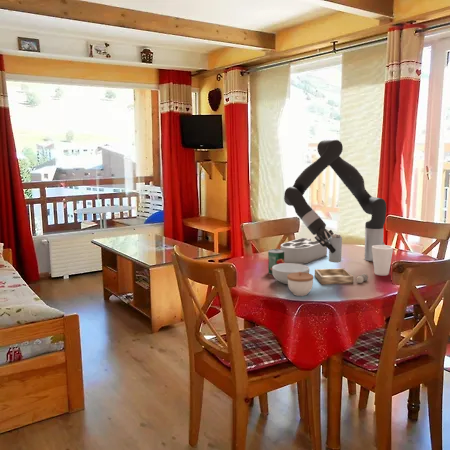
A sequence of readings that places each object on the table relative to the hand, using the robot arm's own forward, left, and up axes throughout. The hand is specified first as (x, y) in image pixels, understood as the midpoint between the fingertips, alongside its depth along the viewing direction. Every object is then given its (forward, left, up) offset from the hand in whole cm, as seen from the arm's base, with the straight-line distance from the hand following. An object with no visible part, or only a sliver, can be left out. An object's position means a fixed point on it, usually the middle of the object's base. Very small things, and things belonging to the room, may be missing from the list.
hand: (337, 250), depth 213 cm
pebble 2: (-12, +3, -14) cm, 18 cm away
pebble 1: (-9, +6, -14) cm, 17 cm away
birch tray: (+1, -1, -14) cm, 14 cm away
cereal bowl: (+21, +1, -14) cm, 25 cm away
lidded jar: (+20, +18, -14) cm, 30 cm away
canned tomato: (+25, -16, -14) cm, 33 cm away
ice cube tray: (+7, -44, -14) cm, 47 cm away
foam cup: (-24, -8, -14) cm, 29 cm away
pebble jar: (+1, -1, -5) cm, 5 cm away
